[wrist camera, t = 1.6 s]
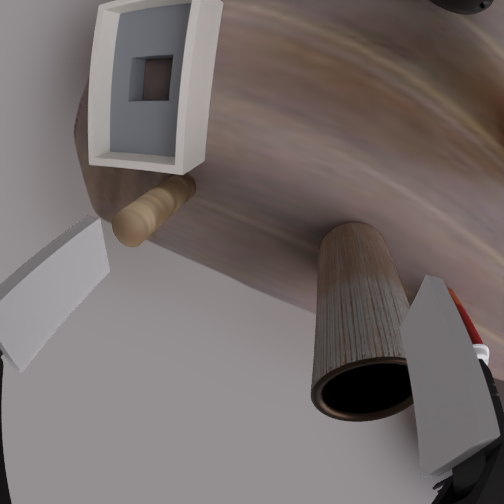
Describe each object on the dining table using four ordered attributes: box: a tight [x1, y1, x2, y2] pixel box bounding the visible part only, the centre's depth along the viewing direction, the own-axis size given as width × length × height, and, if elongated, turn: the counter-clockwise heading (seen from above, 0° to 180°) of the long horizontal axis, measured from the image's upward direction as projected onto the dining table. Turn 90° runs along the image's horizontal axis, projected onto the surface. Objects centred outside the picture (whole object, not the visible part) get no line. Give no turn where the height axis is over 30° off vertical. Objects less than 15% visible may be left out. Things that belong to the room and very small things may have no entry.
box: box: [88, 0, 223, 175], centre depth 28 cm, size 22×14×7 cm, turn 173°
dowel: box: [112, 173, 196, 247], centre depth 33 cm, size 4×4×14 cm
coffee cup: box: [447, 288, 489, 365], centre depth 33 cm, size 8×8×15 cm
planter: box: [311, 222, 414, 422], centre depth 29 cm, size 10×10×23 cm
